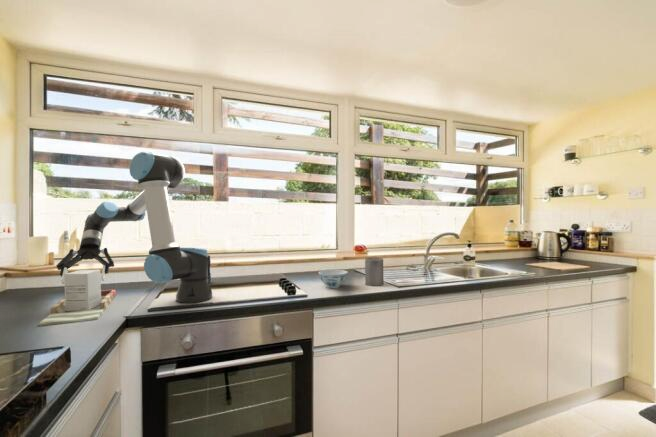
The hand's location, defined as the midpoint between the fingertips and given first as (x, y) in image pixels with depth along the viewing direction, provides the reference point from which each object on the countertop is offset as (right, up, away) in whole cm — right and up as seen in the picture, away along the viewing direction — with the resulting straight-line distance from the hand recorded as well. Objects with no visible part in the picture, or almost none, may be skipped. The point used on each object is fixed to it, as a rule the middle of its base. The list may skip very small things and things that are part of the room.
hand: (83, 280), depth 137 cm
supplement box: (+2, -11, -3) cm, 11 cm away
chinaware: (+105, -9, +32) cm, 111 cm away
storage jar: (+33, -10, +41) cm, 54 cm away
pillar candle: (+127, -9, +38) cm, 133 cm away
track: (+2, -11, -3) cm, 11 cm away
